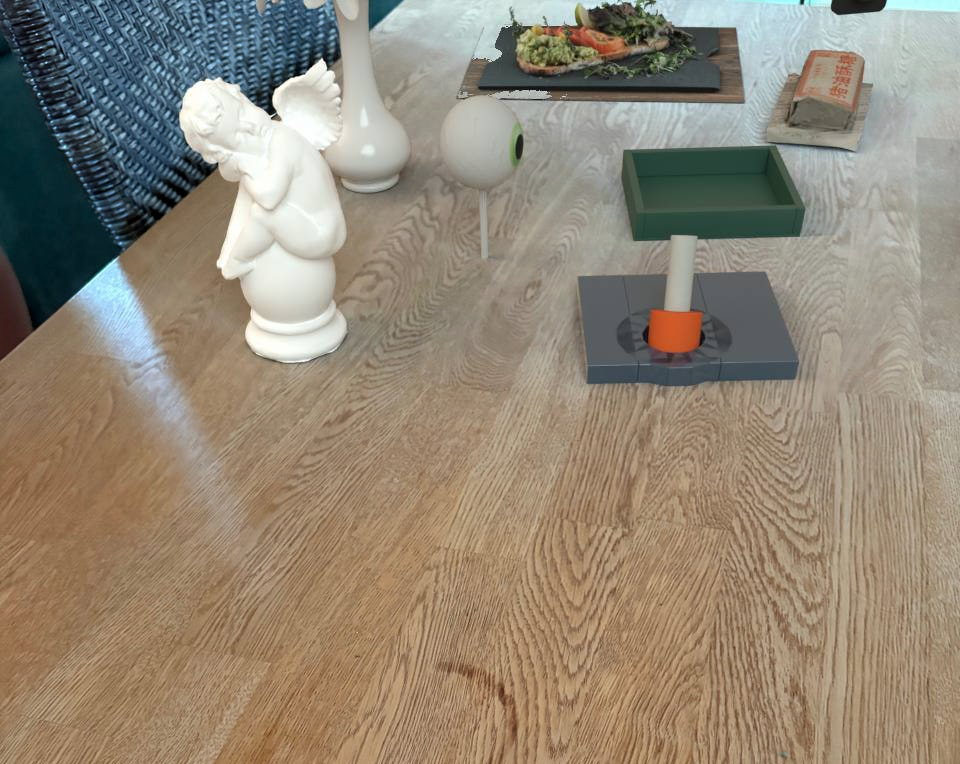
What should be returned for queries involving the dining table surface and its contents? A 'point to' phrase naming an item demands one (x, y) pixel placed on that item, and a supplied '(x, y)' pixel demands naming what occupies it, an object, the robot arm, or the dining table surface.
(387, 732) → the dining table surface
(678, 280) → the stopper
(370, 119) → the flower vase
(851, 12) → the robot arm
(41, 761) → the dining table surface
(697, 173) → the green tray
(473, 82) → the plated dish
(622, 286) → the plate
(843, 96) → the packaged product
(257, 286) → the cherub figurine
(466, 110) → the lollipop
